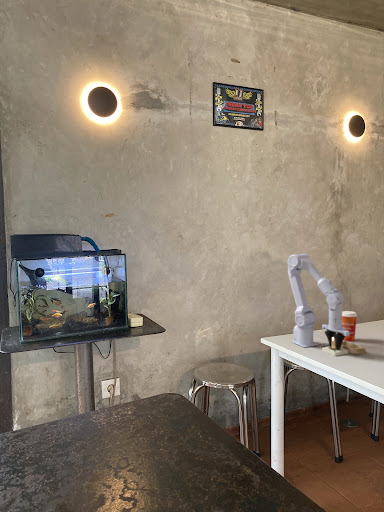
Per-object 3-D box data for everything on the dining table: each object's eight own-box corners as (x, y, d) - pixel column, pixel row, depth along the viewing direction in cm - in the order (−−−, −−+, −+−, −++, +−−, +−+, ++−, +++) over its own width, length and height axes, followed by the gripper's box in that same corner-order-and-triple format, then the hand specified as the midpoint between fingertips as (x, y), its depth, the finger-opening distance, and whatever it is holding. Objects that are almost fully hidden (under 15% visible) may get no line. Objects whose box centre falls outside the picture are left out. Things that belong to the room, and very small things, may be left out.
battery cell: (329, 351, 174) (329, 335, 174) (334, 350, 176) (335, 334, 175) (334, 353, 172) (335, 337, 171) (340, 352, 173) (340, 336, 172)
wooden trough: (335, 347, 180) (335, 342, 180) (345, 345, 183) (345, 341, 183) (355, 355, 169) (355, 350, 169) (365, 352, 172) (365, 348, 172)
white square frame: (321, 350, 176) (321, 346, 176) (335, 348, 179) (335, 344, 179) (334, 356, 168) (334, 351, 168) (348, 353, 172) (348, 349, 172)
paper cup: (337, 340, 192) (338, 312, 191) (344, 336, 197) (344, 310, 196) (353, 343, 186) (353, 315, 185) (359, 339, 192) (360, 312, 191)
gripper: (354, 320, 168) (354, 351, 169) (330, 314, 181) (329, 342, 182) (342, 322, 165) (342, 353, 166) (318, 315, 178) (318, 344, 179)
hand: (335, 347), depth 174 cm, fingers closed on battery cell, 3 cm apart
